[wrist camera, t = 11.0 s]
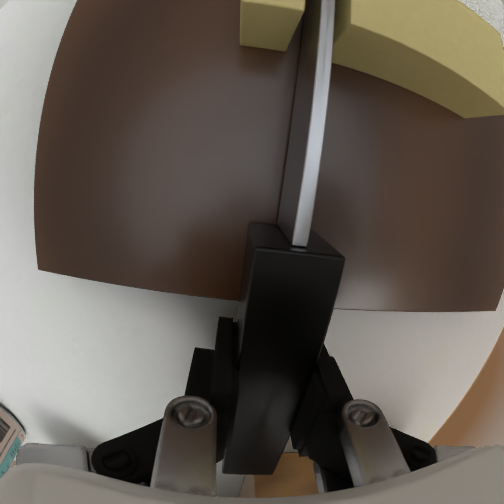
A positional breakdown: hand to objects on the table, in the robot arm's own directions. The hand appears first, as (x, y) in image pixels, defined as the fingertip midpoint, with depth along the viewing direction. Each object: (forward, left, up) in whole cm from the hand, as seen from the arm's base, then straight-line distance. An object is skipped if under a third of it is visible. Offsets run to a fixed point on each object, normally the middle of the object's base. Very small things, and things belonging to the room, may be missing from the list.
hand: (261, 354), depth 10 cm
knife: (0, -6, 0) cm, 6 cm away
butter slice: (+1, -13, 0) cm, 13 cm away
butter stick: (-4, -13, 0) cm, 14 cm away
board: (-2, -10, -2) cm, 10 cm away
